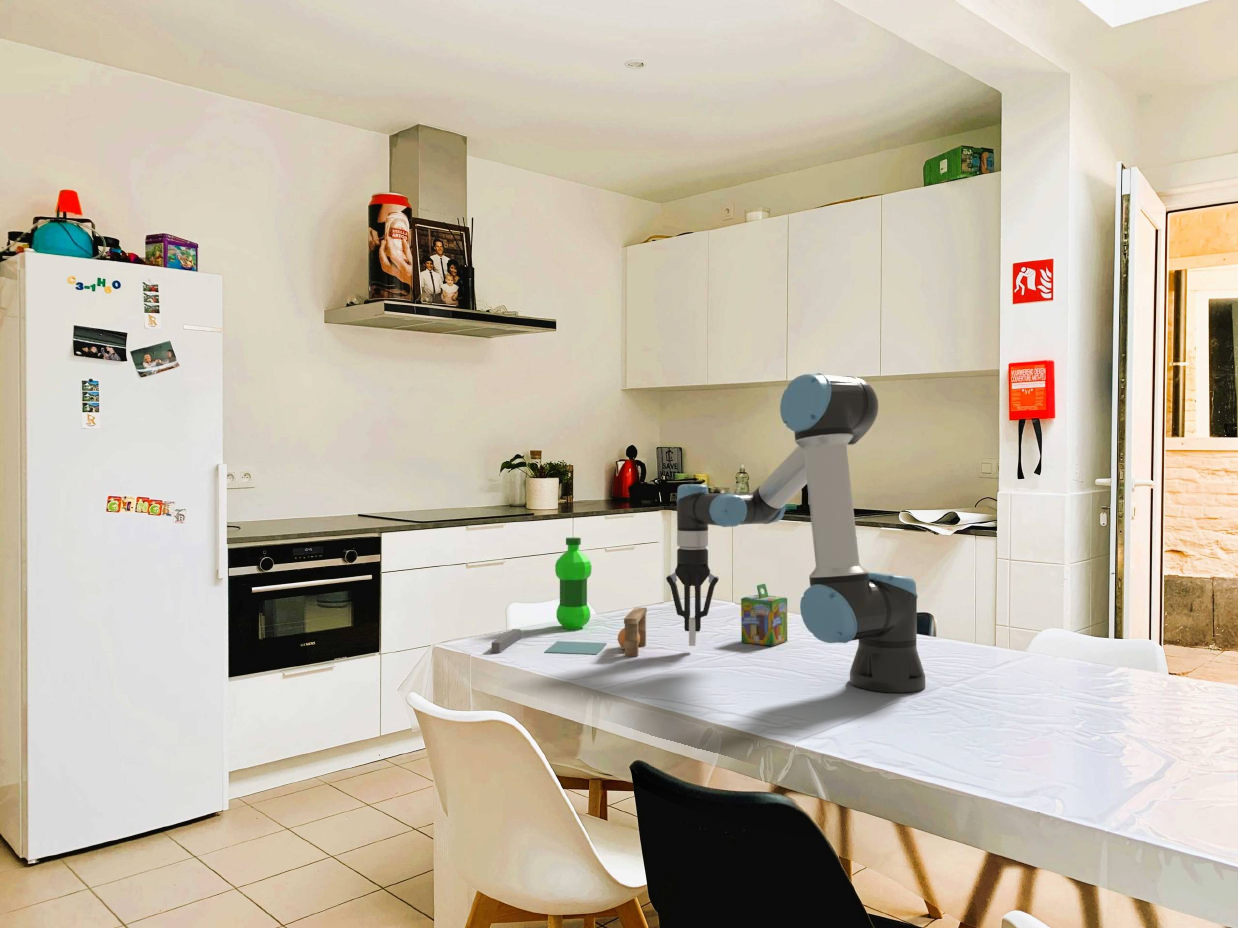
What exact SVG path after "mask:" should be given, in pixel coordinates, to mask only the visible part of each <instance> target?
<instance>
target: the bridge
mask: <svg viewBox="0 0 1238 928" xmlns="http://www.w3.org/2000/svg"><path fill="white" fill-rule="evenodd" d="M647 610H648V609H647V607H634V608H632V610H631V611H629V613H628V614H627V615H626V616H625V617H624V618H623V624H624V628H625V649H624V657H630V658H631V657H632V658H634V657H635V658H637V657H638V656H639V647H645V646H646V645H647V613H648V611H647ZM638 633H639V635H640V642H639V644H638Z"/></svg>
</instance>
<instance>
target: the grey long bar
mask: <svg viewBox="0 0 1238 928" xmlns="http://www.w3.org/2000/svg"><path fill="white" fill-rule="evenodd" d="M521 635H522V634H521V628H512V629H511V630H509V631H508V632H506V633H504V634H503V635H501V636H499V637H498V638H496V639H495V640H493V641H491V653H492V654H500V653H502V652H503V651H505V650H506V649H508V648H509V647H511V646H512V645H513V644H515V643H517V642H518V641H519V640H521Z"/></svg>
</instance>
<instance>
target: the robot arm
mask: <svg viewBox="0 0 1238 928" xmlns="http://www.w3.org/2000/svg"><path fill="white" fill-rule="evenodd" d="M779 404H780V405H779V412H780V417H781V418H780V419H781V421H782V422H783V424H785V426H786V427H787V429H789V430H791V431H793V433H794V441H795V442H794V443H795V445H797V447H796V448H795V449H794V450H793V451H792V452H790V454H789V455H788V456H787V457H786V458H785V459H784V460H783V461H782V462H780V464H779V465H778V466H777V467H776V468H775V469H774V470H773V472H772V473H770V475H768V477H767V478H765V480H764V481H763V482H761V484H760V485H759V486H758V487H757V488H755V490H754V491H752V492H740V493H739V492H738V493H737V492H735V493H733V492H732V493H731V492H730V493H728V492H727V493H710V492H709V487H708V485H706V484H699V483H698V484H697V483H696V484H692V483H691V484H689V483H688V484H681V485H679V486H678V487H677V494H676V501H675V502H676V524H677V525H676V526H677V527H676V529H677V530H676V545H677V547H679V548H677V550H676V568H675V570H674V572H673V573H671V574H668V575H667V576H666V577H665V579H666V582H667V583H668V585H669V586H670V589H671V593H672V594H671V595H672V598H673V603H674V607H675V610H676V614H677V615H678V616H680V617H682V618H683V620H684V622H683V623H684V627H683V629H684V631H685V632H688V646H689V647H690V646H691V647H692V646H693V647H695V646H697V633H698V632H700V631H701V630H702V629H701V627H702V626H701V625H702V624H701V623H702V622H701V620H702V618H704V617H707V616H708V613H709V611H710V606H711V602H712V598H713V594H714V590H715V587H716V585H717V583H718V582H719V579H720V578H719V576H717V575H715V574H713V573H712V572H711V569H710V567H709V550H708V548H707V547H708V546H709V526H719V527H723V528H731V527H732V528H733V527H737V526H739V525H743V526H744V525H758V524H759V525H761V524H763V525H767V524H771V523H777V522H779V521H781V520H782V519H783V517H784V515H785V512H786V505H787V503H789V501H791V500H792V499H793V497H795V496H796V495H797V494H798V493H799V492H800V491H801V490H802V489H803V488H804V487H805V486H806V485H807V493H808V494H807V495H808V505H809V512H810V523H811V532H812V541H813V553H814V562H815V563H814V564H815V567H814V569H813V571H812V572H811V573H810V574H809V575H808V576H809V587H808V588H807V589H806V590H805V591H804V592H803V595H802V597H801V598H800V603H799V604H800V605H799V609H800V615H801V618H802V621H803V623H804V626H805V627H806V629H807V630H808V631H809V633H811V634H812V635H813V636H814V638H815V639H817V640H819V641H821V642H823V643H827V644H837V643H838V644H846V643H849V642H852V641H858V645H857V649H856V652H855V654H854V655H855V656H854V657H853V662H852V664H851V667H850V669H849V670H850V671H849V683H850V684H851V685H852V686H855V687H858V688H860V689H863V690H867V691H874V692H881V693H900V694H901V693H913V692H918V691H922V690H924V689H925V688H926V674H925V671H924V667H923V664H922V661H921V658H920V655H919V652H918V648H917V631H918V628H917V615H918V614H917V613H918V611H917V608H918V607H917V605H918V601H917V600H918V597H919V596H918V593H917V583H916V581H915V579H914V578H913V577H910V576H905V575H897V574H889V573H881V572H871V571H868V570H867V569H866V568H865V567H863V566H862V565H861V563H860V558H859V557H860V556H859V548H858V539H857V538H858V537H857V531H856V530H857V529H856V521H855V511H854V503H853V494H852V493H853V492H852V483H851V473H850V468H849V467H850V464H849V455H848V447H847V446H854V445H855V444H857V443H858V442H859V441H860V440H861V439H862V438H863V437H864V436H865V435H866V434H867V433H868V432H869V431H870V429H871V428H872V426H873V425H874V424H875V421H876V418H877V416H878V412H879V399H878V395H877V393H876V391H875V390H874V388H873V387H872V386H871V384H870V383H868V382H867V381H865V380H863V379H862V378H859V377H856V376H851V375H850V376H847V375H844V376H843V375H833V374H824V373H820V372H817V373H811V374H810V373H808V374H807V373H805V374H801V375H799V376H796V377H795V378H794V379H792V380H791V381H790V382H789V383H788V385H787V387H786V389H784V391H783V393H782V395H781V399H780V403H779ZM707 579H708V583H709V586H708V590H707V593H706V597H705V601H704V604H703V605H704V606H703V610H702V605H701V604H702V602H701V601H702V599H701V598H702V585H703V584H704V582H705V581H706V580H707ZM677 580H680V583H681V584H682V585H683V590H684V593H683V595H684V596H683V597H684V598H683V599H684V602H683V604H684V605H682V602H681V597H680V594H679V589H678V586H677V585H678V584H677ZM691 587H694V616H691ZM683 608H684V609H683Z"/></svg>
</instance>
